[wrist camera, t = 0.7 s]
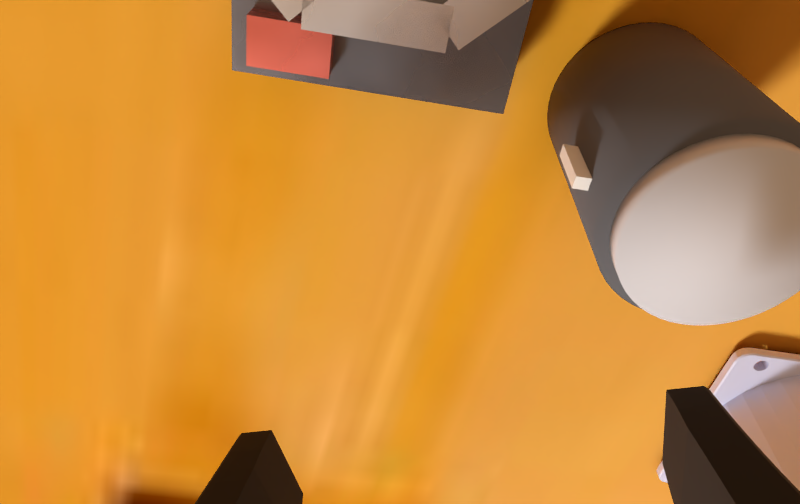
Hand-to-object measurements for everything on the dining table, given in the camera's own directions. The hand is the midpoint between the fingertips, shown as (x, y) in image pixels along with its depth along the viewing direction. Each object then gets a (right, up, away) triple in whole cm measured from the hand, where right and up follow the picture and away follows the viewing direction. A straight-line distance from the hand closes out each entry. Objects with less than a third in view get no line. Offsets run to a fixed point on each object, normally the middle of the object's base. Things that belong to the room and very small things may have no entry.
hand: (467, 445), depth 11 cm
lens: (+5, +8, +6) cm, 11 cm away
